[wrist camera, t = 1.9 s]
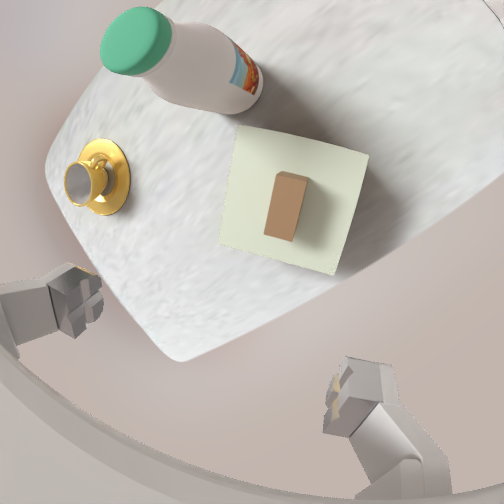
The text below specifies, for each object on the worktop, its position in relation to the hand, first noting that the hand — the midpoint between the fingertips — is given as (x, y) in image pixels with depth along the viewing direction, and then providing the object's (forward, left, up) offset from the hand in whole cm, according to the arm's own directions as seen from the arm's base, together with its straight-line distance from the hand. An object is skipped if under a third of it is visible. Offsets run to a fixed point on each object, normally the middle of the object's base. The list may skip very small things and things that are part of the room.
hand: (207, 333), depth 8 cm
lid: (0, 0, -20) cm, 20 cm away
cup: (+29, +4, -27) cm, 40 cm away
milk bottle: (+10, -11, -27) cm, 31 cm away
